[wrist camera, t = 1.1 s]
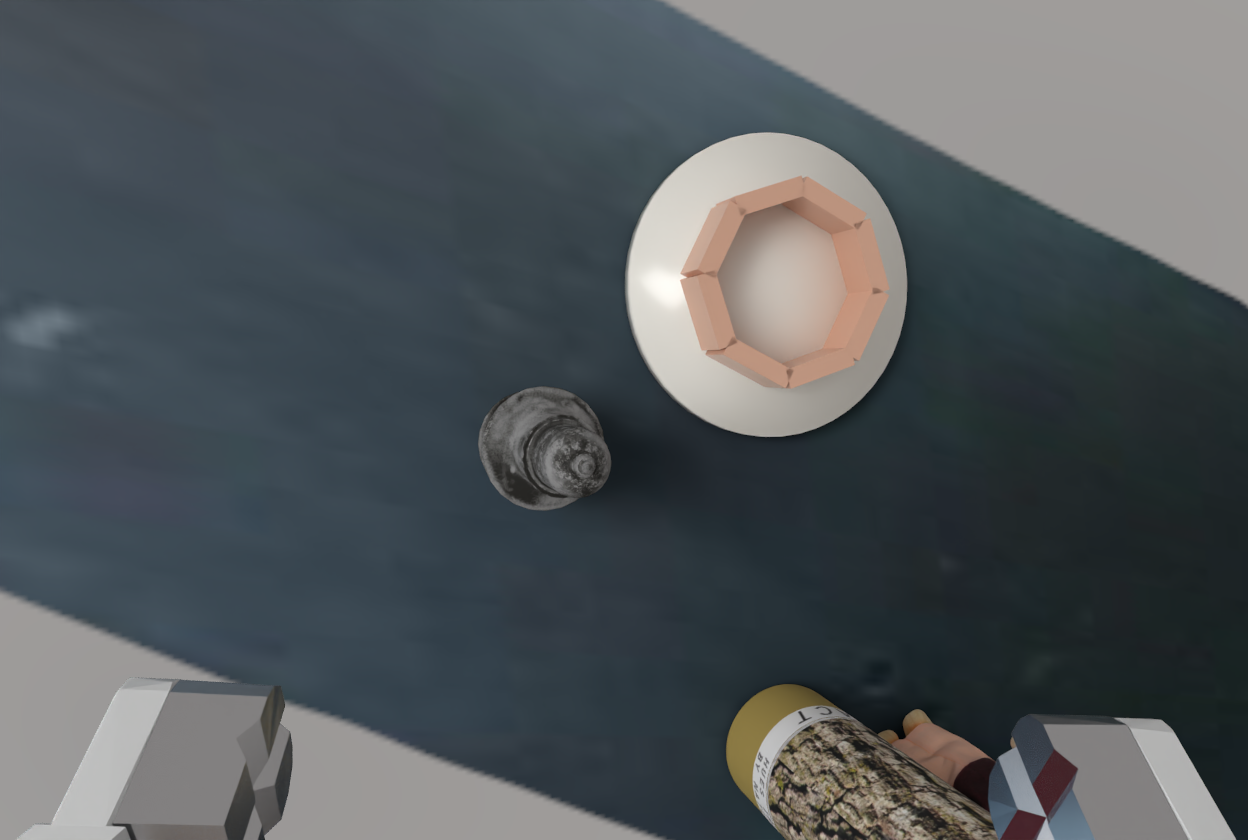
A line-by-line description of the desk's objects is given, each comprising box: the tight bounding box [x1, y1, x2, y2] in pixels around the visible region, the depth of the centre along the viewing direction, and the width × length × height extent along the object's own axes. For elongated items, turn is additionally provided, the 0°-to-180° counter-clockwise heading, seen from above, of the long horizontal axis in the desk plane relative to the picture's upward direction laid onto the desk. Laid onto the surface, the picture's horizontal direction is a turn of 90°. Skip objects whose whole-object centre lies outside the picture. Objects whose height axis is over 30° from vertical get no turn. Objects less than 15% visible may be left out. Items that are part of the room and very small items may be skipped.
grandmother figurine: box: [877, 709, 1016, 813], centre depth 50 cm, size 8×4×13 cm, turn 125°
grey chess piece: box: [478, 386, 611, 511], centre depth 43 cm, size 6×6×12 cm
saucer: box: [625, 132, 907, 437], centre depth 50 cm, size 16×16×4 cm
